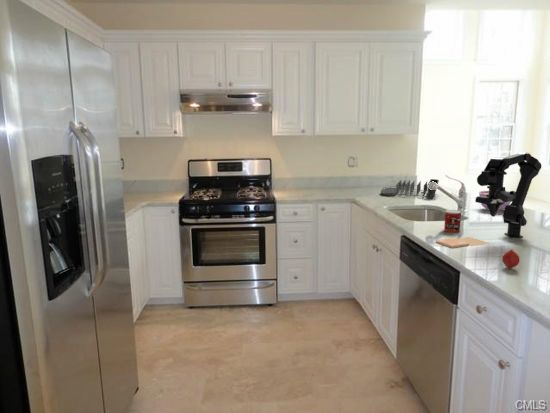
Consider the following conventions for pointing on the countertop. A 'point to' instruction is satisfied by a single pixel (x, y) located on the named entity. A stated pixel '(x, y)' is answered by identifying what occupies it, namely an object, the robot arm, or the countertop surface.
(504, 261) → the onion
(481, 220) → the countertop surface
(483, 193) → the bowl of food
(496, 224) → the countertop surface
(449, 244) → the tile
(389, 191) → the dish rack
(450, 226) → the canned food
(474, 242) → the mat
